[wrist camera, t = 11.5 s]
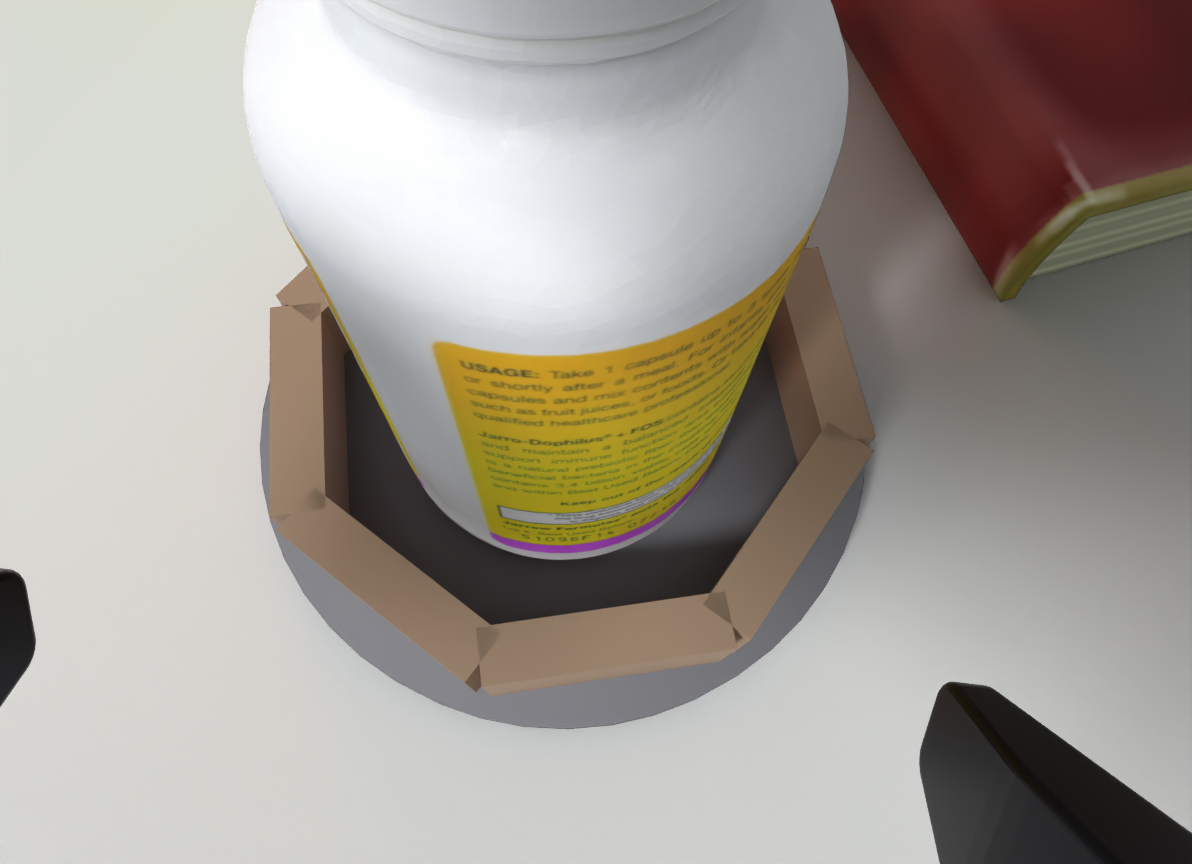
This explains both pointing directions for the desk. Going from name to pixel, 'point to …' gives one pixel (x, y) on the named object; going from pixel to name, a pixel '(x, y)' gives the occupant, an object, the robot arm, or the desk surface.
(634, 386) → the supplement bottle
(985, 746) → the robot arm
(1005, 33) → the hardcover book
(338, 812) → the desk surface
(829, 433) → the coaster ring
